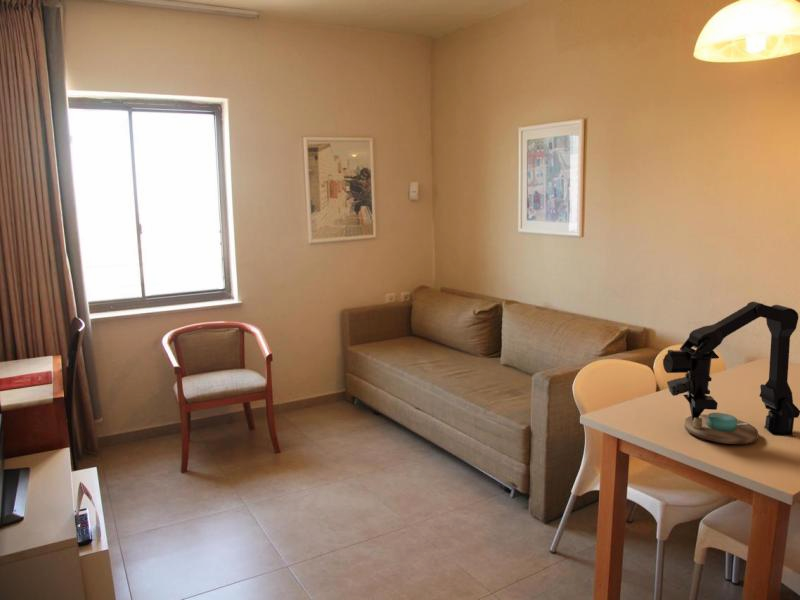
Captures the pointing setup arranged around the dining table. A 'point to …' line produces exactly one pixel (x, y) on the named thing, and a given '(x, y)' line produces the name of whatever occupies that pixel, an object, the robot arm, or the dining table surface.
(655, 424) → the dining table surface
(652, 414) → the dining table surface
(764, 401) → the robot arm
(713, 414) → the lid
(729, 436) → the disc
